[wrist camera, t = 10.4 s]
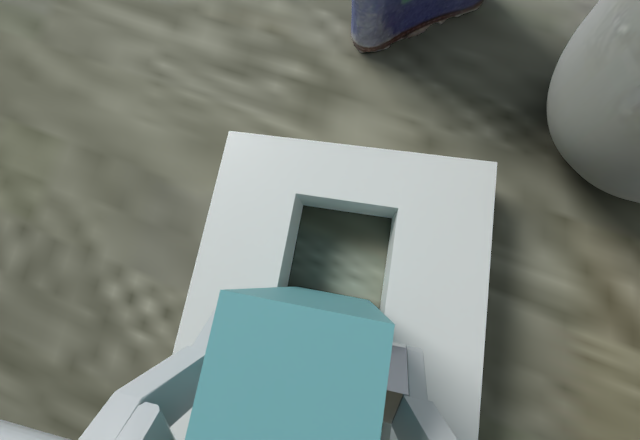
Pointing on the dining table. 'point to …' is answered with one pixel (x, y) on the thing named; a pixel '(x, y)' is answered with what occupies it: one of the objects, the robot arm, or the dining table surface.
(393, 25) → the flask
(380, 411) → the key block
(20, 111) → the dining table surface
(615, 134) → the white bottle
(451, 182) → the keyhole plate
